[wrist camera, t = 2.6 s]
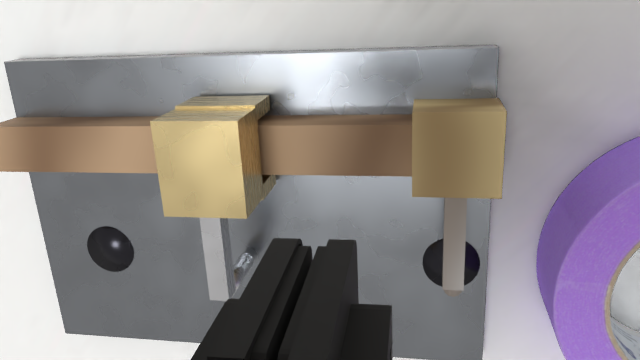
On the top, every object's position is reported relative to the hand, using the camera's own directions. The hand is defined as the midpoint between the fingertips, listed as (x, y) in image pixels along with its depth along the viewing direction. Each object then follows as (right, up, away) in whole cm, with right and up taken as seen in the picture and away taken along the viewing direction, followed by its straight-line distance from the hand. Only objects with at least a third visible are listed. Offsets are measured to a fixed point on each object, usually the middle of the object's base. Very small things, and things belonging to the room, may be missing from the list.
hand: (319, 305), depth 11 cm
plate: (-3, +1, +15) cm, 15 cm away
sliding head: (-3, +2, +13) cm, 14 cm away
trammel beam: (-3, +2, +13) cm, 14 cm away
